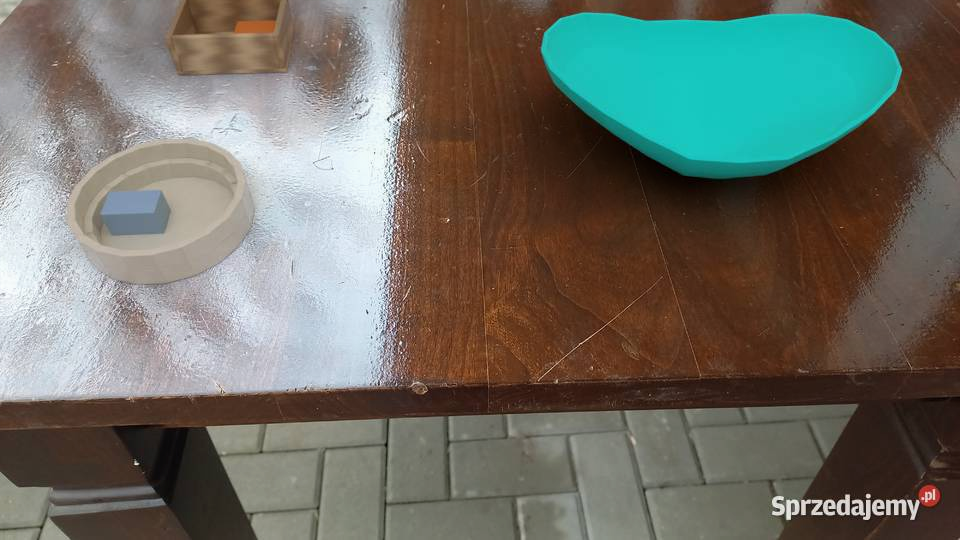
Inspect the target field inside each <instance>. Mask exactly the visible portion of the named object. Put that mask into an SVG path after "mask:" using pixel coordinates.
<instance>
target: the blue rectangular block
mask: <svg viewBox="0 0 960 540" xmlns="http://www.w3.org/2000/svg"><path fill="white" fill-rule="evenodd" d="M170 212H171V210H170V208H169V205H168V203H167V201H166V199H165V197H164V194H163V192H162V190H144V191H116V192H109V193H108V196H107V198H106V201H105V204H104V206H103V209H102V211H101V214H100V215H101V217H102V219H103V221H104V222H105V224H106V226H107V228H108V229H109V231H110V233H111V235H136V234H161V233H164V232H165V228H166V225H167V222H168V219H169V215H170Z"/></svg>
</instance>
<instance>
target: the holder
mask: <svg viewBox="0 0 960 540" xmlns="http://www.w3.org/2000/svg"><path fill="white" fill-rule="evenodd" d="M290 6H291V5H290V1H289V0H179V3H178V5H177V7H176V10H175V12H174V15H173V17H172V20H171V23H170V25H169V27H168V30H167V32H166V35H165V37H164V40H165V42H166V45H167V49H168V51H169V53H170V56H171V59H172V61H173V64H174V67H175V69H176V73H177V75H178V76H198V75H199V76H201V75H203V76H204V75H237V74H239V75H241V74H274V73H275V74H276V73H288V68H289V63H290V57H291V53H292V47H293V42H294V37H295V31H296V30H295V26H294V20H293V16H292V12H291V7H290ZM273 20H276V24H275V28H274V32H273V33H242V34H234V31H235V28H236V25H237V21H273Z"/></svg>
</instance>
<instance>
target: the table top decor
mask: <svg viewBox="0 0 960 540" xmlns="http://www.w3.org/2000/svg"><path fill="white" fill-rule="evenodd" d="M540 52H541V55H542V58H543V62H544V64H545V65H544V66H545V67H546V70H547V73H548V74H549V76H550V78H551V81H552V83H553V84H554V85H555V86H556V87H557V88H558V89H559V90H560V91H561V92H562V93H563V94H564V95H565V96H566V97H567V98H568V99H569V100H570V101H571V102H573V104H575V105H576V106H577V107H578V109H580V110H581V111H583V112H584V113H585V114H586V115H587V116H588V117H590V118H591V119H592V120H594V121H595V122H597V123H598V125H601V126H602V128H605V129H606V130H607V131H609V132H610V133H611V134H612V135H614V136H616V137H617V138H619V139H620V140H622V141H623V142H625V143H627V144H628V145H630V146H631V147H633V148H634V149H635V150H637V151H639V152H640V153H642V154H644V155H645V156H647V157H649V158H650V159H652V160H654V161H656V162H658V163H660V164H661V165H664V166H665V167H667V168H669V169H671V170H673V172H676V173H677V174H680V175H682V176H686V177H694V178H704V179H712V180H713V179H715V180H725V179H735V178H746V177H758V176H759V177H760V176H767V175H770V174H772V173H775V172H778V171H780V170H782V169H785V168H787V167H789V166H791V165H793V164H796V163H798V162H800V161H802V160H804V159H806V158H808V157H811V156H812V155H813V156H814V155H815V154H817V153H819V152H822V151H824V150H825V149H827V148H828V147H831V146H832V145H833V144H835V143H836V142H838V141H840V140H841V139H842V138H844V137H845V136H846V135H848V134H850V133H852V132H853V131H854V130H856V129H857V128H859V127H860V126H861V125H863V124H864V123H865V122H866V121H867V120H868V119H870V118H871V117H872V115H874V114H875V113H876V112H877V111H878V110H879V109H880V108H881V107H882V105H883V104H884V103H885V102H886V101H887V100H888V99H889V98H890V97H891V96H892V95H893V94H894V93H895V92H896V91H897V87H898V86H899V85H898V84H899V81H900V78H901V75H902V72H903V68H902V66H901V64H900V60H899V58H898V56H897V53H896V50H895V49H894V48H893V47H891V45H890V44H888V43H887V41H885V40H884V39H883V38H882V37H881V36H880V35H879V34H878V33H877V32H876V31H873V30H871V29H869V28H867V27H865V26H863V25H860V24H858V23H856V22H854V21H852V20H849V19H846V18H842V17H841V18H840V17H835V16H828V15H821V14H817V13H774V14H769V13H768V14H763V15H756V16H751V17H744V18H738V19H731V20H700V19H698V20H697V19H669V20H668V19H667V20H666V19H665V20H663V19H661V20H644V19H639V18H634V17H630V16H625V15H620V14H616V13H609V12H608V13H607V12H605V13H604V12H580V13H575V14H572V15H567V16H564V17H560V18H559V19H557V21H555V22H554V23H553V24H552V25H551V26H550V27H549V28H548V29H546V31H545V32H544V33H543V38H542V43H541V47H540Z"/></svg>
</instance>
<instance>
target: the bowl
mask: <svg viewBox="0 0 960 540" xmlns="http://www.w3.org/2000/svg"><path fill="white" fill-rule="evenodd" d="M144 190H162V192H163V194H164V197H165V199H166V201H167V203H168V205H169V208H170V210H171V212H170V215H169V219H168V222H167V225H166V228H165V232H164V233H161V234H136V235H111V233H110V231H109V229H108V228H107V226H106V224H105V222H104V221H103V219H102V217H101V215H100V214H101V211H102V209H103V206H104V204H105V201H106V198H107V196H108V193H109V192H116V191H144ZM255 211H256V209H255V206H254V202H253V198H252V195H251V191H250V188H249V185H248V181H247V179H246V175H245V173H244V170H243V166H242V164H241V163H240V162H239V161H238V159H236V157H235V156H234V155H233V154H232V153H231V151H229V150H227V149H225V148H223V147H221V146H219V145H216V144H215V143H213V142H209V141H204V140H199V139H194V138H162V139H157V140H153V141H148V142H143V143H139V144H135V145H133V146H131V147H127V148H126V149H123V150H120V151H119V152H116V153H113V154H111V155H110V156H108V157H107V158H105V159H104V160H102V161H101V162H99V163H98V164H97V165H95V166H92V168H90V170H88V172H87V173H86V174H85V175H84V176H83V177H81V179H80V180H79V181H78V182H77V183H76V185H74V187H73V189H72V192H71V194H70V196H69V198H68V201H67V203H66V225H67V226H68V228H69V229H70V231H71V233H72V234H73V236H74V237H75V239H76V240H77V242H78V244H79V246H80V247H81V249H82V250H83V252H84V253H85V255H86V256H87V258H88V260H89V261H90V263H91V264H92V266H93V268H95V270H97V271H99V272H100V273H102V274H103V275H105V276H107V277H109V278H110V279H111V280H115V281H119V282H125V283H128V284H133V285H138V286H140V285H141V286H144V285H162V284H164V285H165V284H170V283H173V282H178V281H180V280H183V279H188V278H191V277H196V276H198V275H199V274H201V273H203V272H205V271H207V270H209V269H211V268H212V267H215V266H217V265H219V264H220V263H222V262H223V261H224V260H225V259H226V258H227V257H229V256H230V255H231V254H232V253H233V252H235V251H236V250H237V249H238V248H239V247H240V246H241V244H242V243H243V241H244V239H245V238H246V237H247V235H248V233H249V232H250V231H251V229H252V226H253V221H254V215H255Z"/></svg>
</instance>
